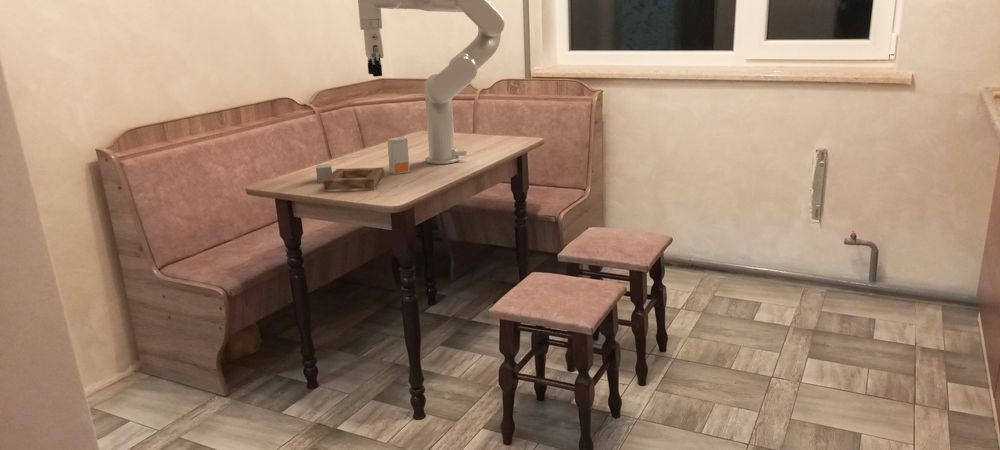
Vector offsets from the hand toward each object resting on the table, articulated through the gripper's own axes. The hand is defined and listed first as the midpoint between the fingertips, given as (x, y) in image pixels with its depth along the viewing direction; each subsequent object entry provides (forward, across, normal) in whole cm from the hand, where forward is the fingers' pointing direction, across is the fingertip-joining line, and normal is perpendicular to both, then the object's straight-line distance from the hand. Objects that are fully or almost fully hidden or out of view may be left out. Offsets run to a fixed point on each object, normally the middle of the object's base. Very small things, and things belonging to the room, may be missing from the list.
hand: (375, 75), depth 268 cm
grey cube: (+32, -15, +22) cm, 42 cm away
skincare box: (+33, -15, -3) cm, 36 cm away
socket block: (+32, -26, +14) cm, 43 cm away
